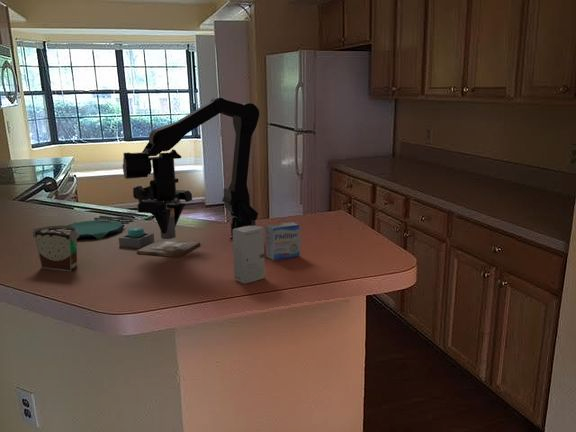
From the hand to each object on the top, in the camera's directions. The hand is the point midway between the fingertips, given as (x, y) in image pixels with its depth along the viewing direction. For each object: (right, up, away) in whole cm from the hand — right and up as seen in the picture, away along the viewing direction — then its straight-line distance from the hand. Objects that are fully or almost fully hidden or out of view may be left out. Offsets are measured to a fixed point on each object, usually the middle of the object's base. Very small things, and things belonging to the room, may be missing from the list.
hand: (168, 231), depth 137 cm
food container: (-23, -9, -12) cm, 27 cm away
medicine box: (+32, -7, -7) cm, 33 cm away
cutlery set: (-29, 0, +26) cm, 39 cm away
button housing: (-11, -4, +7) cm, 13 cm away
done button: (-11, -2, +6) cm, 13 cm away
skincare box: (+24, -10, -23) cm, 35 cm away
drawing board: (0, -5, +1) cm, 5 cm away
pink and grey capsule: (0, -2, 0) cm, 2 cm away
